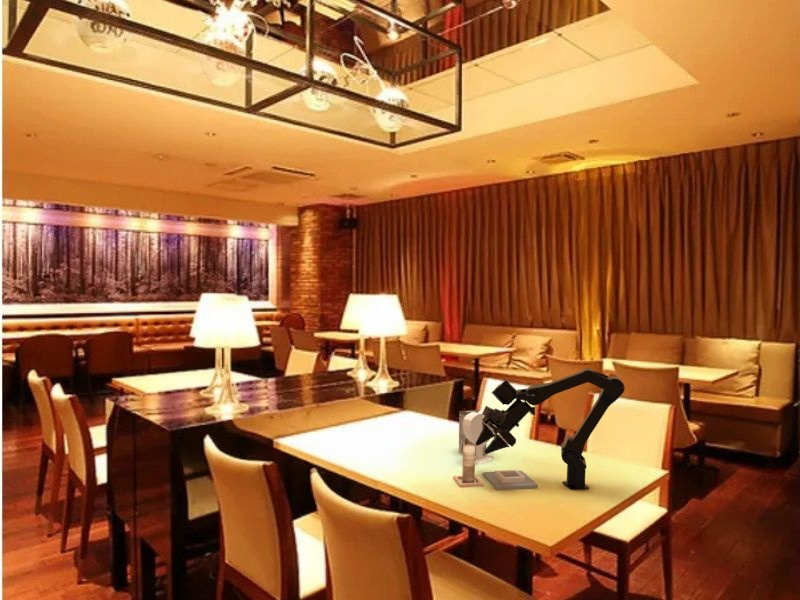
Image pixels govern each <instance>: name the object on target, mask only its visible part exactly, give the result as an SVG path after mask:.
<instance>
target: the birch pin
mask: <svg viewBox="0 0 800 600" xmlns="http://www.w3.org/2000/svg"><path fill="white" fill-rule="evenodd" d="M475 458H476V455H475V446H474V445H470V444H466V445H463V455H462V475H461V476H462V479H461V480H462V481H461V482H462V483H475V475H476V472H475V471H476V465H475Z"/></svg>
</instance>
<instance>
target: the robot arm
mask: <svg viewBox="0 0 800 600" xmlns="http://www.w3.org/2000/svg"><path fill="white" fill-rule="evenodd" d="M587 383H590V384H592V385H594V386H596V387H598V388H600V390H599V394H598V397H597V399H596V401H595V402H594V404H593V405H592V407H591V409H590V410H589V412H588V413H587V415H586V416H585V418H584V420H583V421H582V422H581V424H580V425H579V427H578V429H577V430H576V432H575V433H574V434H573V435H572V436H569V435H568V434H566V437H565V439H564V441H563V442H561V444H560V448H561V449H560V452H561V454H560V455H561V460H562V462H564V464H566V480H563V481H562V484H563V485H564V486H566V487H567V488H568V489H570V490H572V491H573V490H574V491H575V490H589V489H590V487H589V486H588V484H586V472H587V471H586V469H587V462H586V457H584V456H583V452H584V449H585V445H586V443H587V441H588V439H589V438H590V436H591V435H592V433H593V432H594V430H595V429H596V427H597V425H598V424H599V422H600V420H601V419H602V418H603V416H604V415H605V413H606V412H607V410H608V408H609V407H610V406H611V405H612V404H614V403H615V402H616V401H617V400H619V398H620V397H621V396H622V395H623V393H625V384H624V382H623V381H622V379H621V378H620V377H619V376H616V375H606V374H604V373H601V372H599V371H595V370H593V369H591V368H589V367H588V368H584V369H582V370H580V371H577V372H575V373H572V374H570V375H567V376H564V377H561V378H559V379H555V380H553V381H551V382H545V383H537V384H532V385H529V386H528V387H527V388H521V389H516V388H515V387H514V386H513V385H512V384H511V382H510V381H509V380H508V379H504V381H502V382H501V383H499V384H497V386H496V387H495V388H494V390H492V391H491V394H492V395H493V396H494V397H495V398H496V400H497V401H499V402H500V403H501V404H502V405H506V406H508V408H507V409H506V410H505V409H501V410H500V409H498V408H491V407H490V406H487V405H485V407H484V409H483V410H484V411H483V413H482V415H484V416H485V417H484V418H483V419H482V421H483V422H484V423H483V422H482V431H481V433H480V435H479V437H478V439H477V441H476V443H475V444H476V445H477V446H478V445H480V444H482V443H484V442H486V441H487V440H489V439H490V440H491V439H492V441H491V442H489V444H488V445H487V446H486V450H485V451H484V452H485V453H486V455H488V454H491V453H493V452H497V451H499V450H502V449H506V448H510V447H512V448H513V447H514V446H515V445H516V443H517V438H516V437H515V436H514V435H513V434H512V433H511V431H512V430H513V429H514V428H515V427H516V428H519V426H520V422H521V421H522V420H523V419H524V418H525V417H526V416H527V415H528V414H530V415H532V416H536V406H538V405H540V404H542V403H543V402H546V400H547V401H548V400H549V398H551V397H552V396H554V395H557V394H560V393H562V392H565V391H568V390H571V389H574V388H575V387H579V386H582V385H584V384H587ZM493 432H494V433H493ZM490 440H489V441H490Z"/></svg>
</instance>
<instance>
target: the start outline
mask: <svg viewBox="0 0 800 600" xmlns="http://www.w3.org/2000/svg"><path fill="white" fill-rule="evenodd" d="M452 479H453V480H454V481H455V483H456V484H457V485H458V487H459V488H466V487H467V488H469V487H473V488H474V487H485V483H484V482H483V481H482V480H481V478H479V476H478V475H477V474H475V479H474V481H476V482H474V483H462V481H461V480H462V475H453V476H452Z"/></svg>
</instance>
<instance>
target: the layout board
mask: <svg viewBox="0 0 800 600" xmlns="http://www.w3.org/2000/svg"><path fill="white" fill-rule="evenodd" d="M482 476H483V477H484V478H485V479H486V480H487V481H488V483H490V484H491V486H493V488H494V489H495V490H496V489H497V490H496V491H507V490H525V489H539V484H538V483H537V482H536V481H534V479H532V478H531V477H530V476H529V475H527V473H525V472H524V471H523V470H517V469H501V470H500V469H499V470H494V471H483V472H482Z"/></svg>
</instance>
